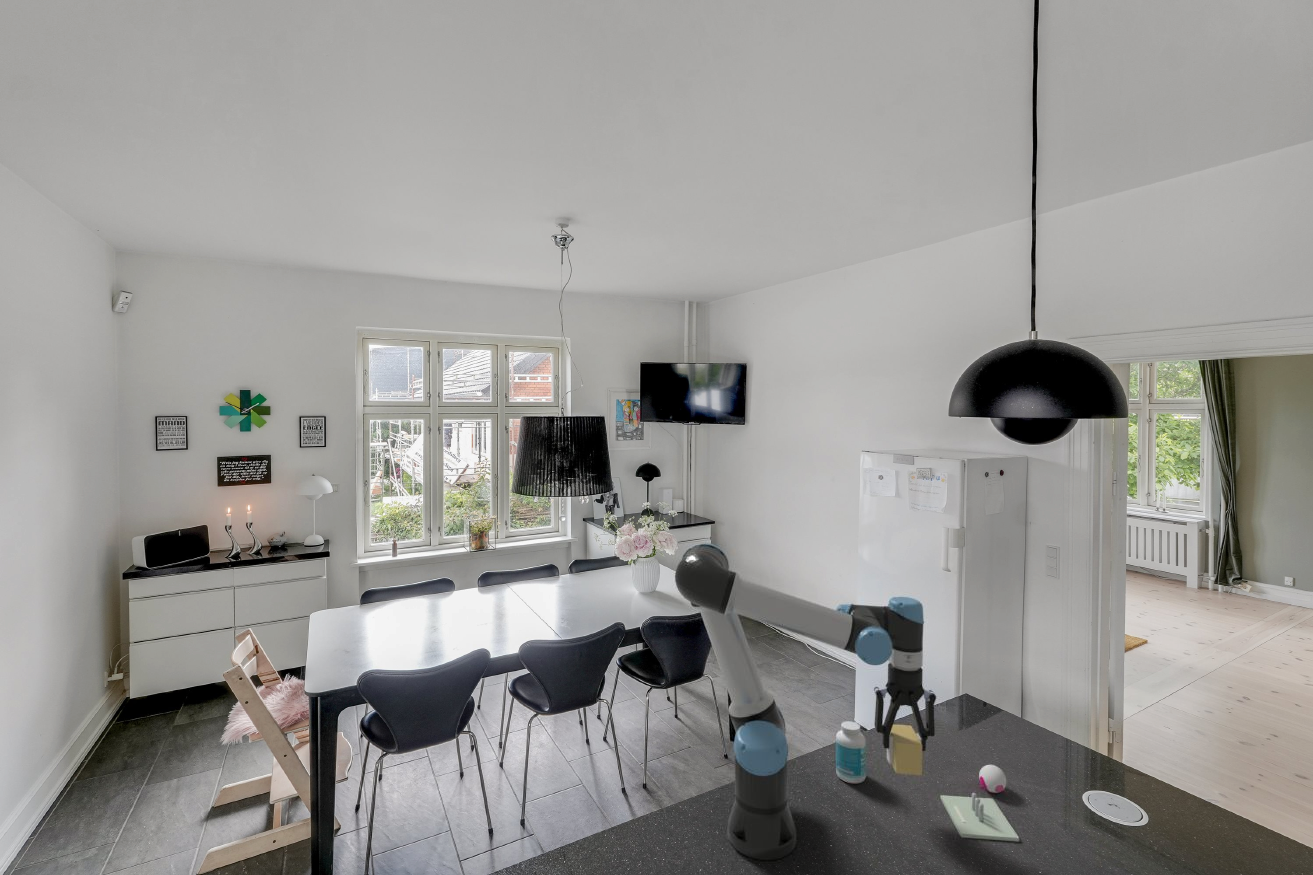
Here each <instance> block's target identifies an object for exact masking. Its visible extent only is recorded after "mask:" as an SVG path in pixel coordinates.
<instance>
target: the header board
mask: <svg viewBox="0 0 1313 875" xmlns="http://www.w3.org/2000/svg"><path fill="white" fill-rule="evenodd" d="M940 801H941V802H942V804H943V805H944V808H945V810H946V811H947V813H948V815H949V818H950V819H951V821H952V824H954V827H955V828H956V830H957V832H958V834H959V836H960V837H961V838H967V839H979V840H994V841H1004V842H1005V841H1008V842H1020V837H1019V836H1018V834H1017V832H1016V831H1015V830H1014V828H1013V827H1012V825H1011V824H1010V822H1009V821H1008V819H1007V818H1006V816H1005V814H1003V813H1004V812H1002V810H1001V809H1000V808H999V805H998V804H997V803H996V801H995V800H994V799H993V798H988V797H986V798H985V797H978V795H977V793H976V792H972V793H971V796H970V797H969V796H956V795H942V794H940Z"/></svg>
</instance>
